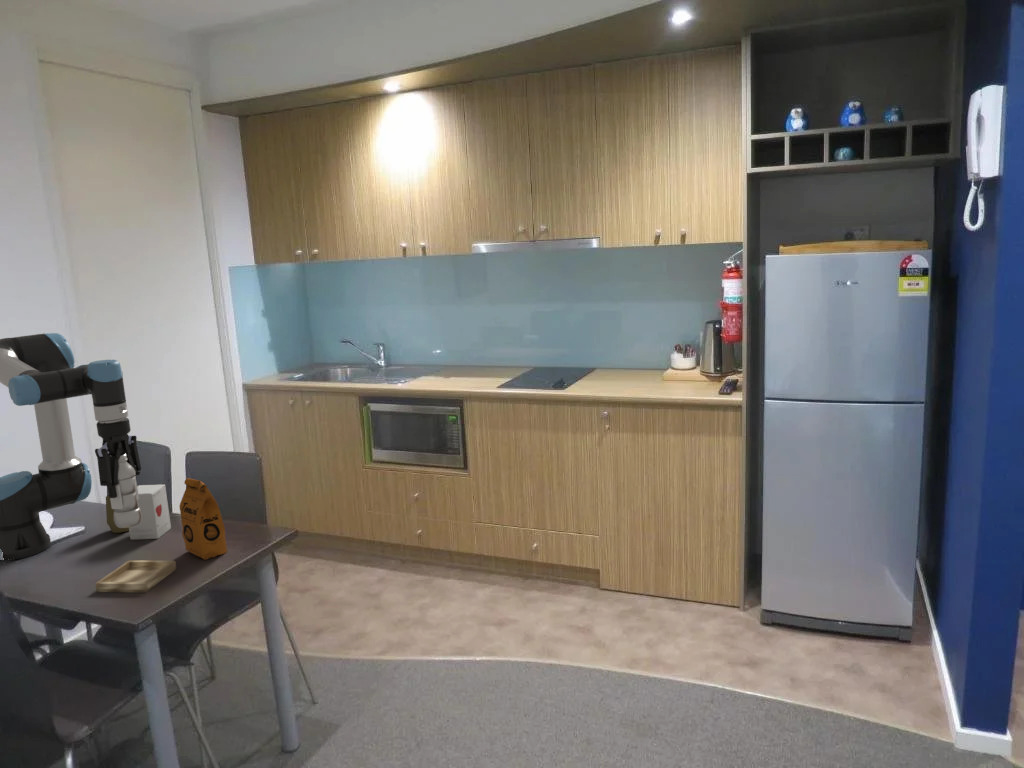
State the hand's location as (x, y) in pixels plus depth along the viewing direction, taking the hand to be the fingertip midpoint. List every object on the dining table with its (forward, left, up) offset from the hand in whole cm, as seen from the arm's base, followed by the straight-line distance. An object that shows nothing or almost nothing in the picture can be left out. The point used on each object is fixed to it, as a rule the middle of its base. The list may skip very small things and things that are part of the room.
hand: (125, 503), depth 193 cm
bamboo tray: (0, 0, -22) cm, 22 cm away
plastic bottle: (0, 0, -7) cm, 7 cm away
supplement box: (-16, +31, -22) cm, 41 cm away
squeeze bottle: (-28, +34, -22) cm, 49 cm away
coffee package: (+10, +18, -22) cm, 30 cm away
